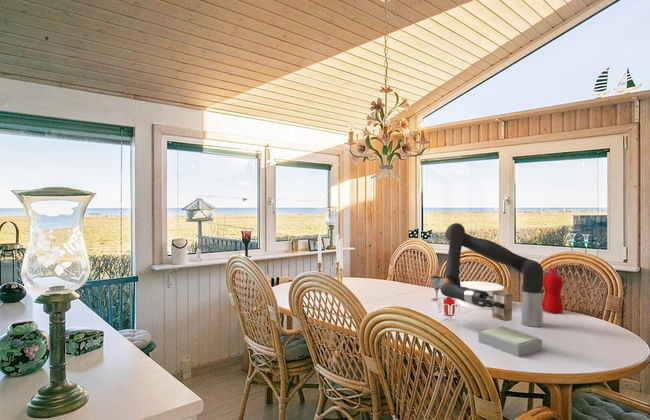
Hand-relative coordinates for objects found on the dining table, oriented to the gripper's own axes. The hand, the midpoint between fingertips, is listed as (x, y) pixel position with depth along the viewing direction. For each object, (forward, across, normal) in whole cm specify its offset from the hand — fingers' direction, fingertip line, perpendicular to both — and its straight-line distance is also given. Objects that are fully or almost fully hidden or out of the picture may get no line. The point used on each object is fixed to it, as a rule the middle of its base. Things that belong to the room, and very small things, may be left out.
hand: (507, 305), depth 173 cm
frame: (-3, 0, +6) cm, 7 cm away
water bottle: (-22, +70, +18) cm, 75 cm away
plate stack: (-56, +48, +18) cm, 76 cm away
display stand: (+1, 0, +18) cm, 18 cm away
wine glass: (-76, +31, +18) cm, 84 cm away
